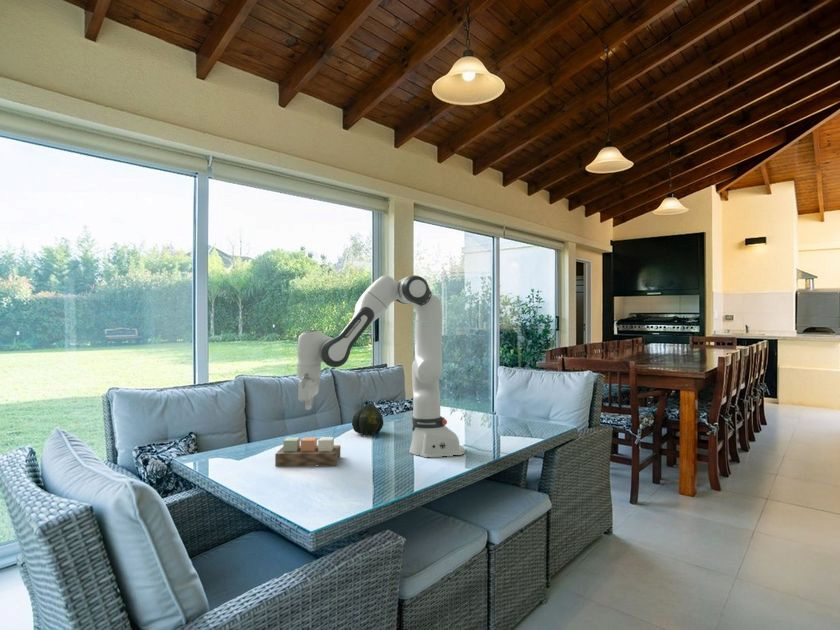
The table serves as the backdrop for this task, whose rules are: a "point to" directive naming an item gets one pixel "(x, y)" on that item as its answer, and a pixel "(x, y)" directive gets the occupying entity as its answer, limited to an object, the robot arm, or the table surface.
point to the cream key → (326, 444)
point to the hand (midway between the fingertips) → (308, 409)
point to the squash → (367, 420)
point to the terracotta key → (309, 444)
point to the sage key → (291, 444)
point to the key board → (308, 457)
